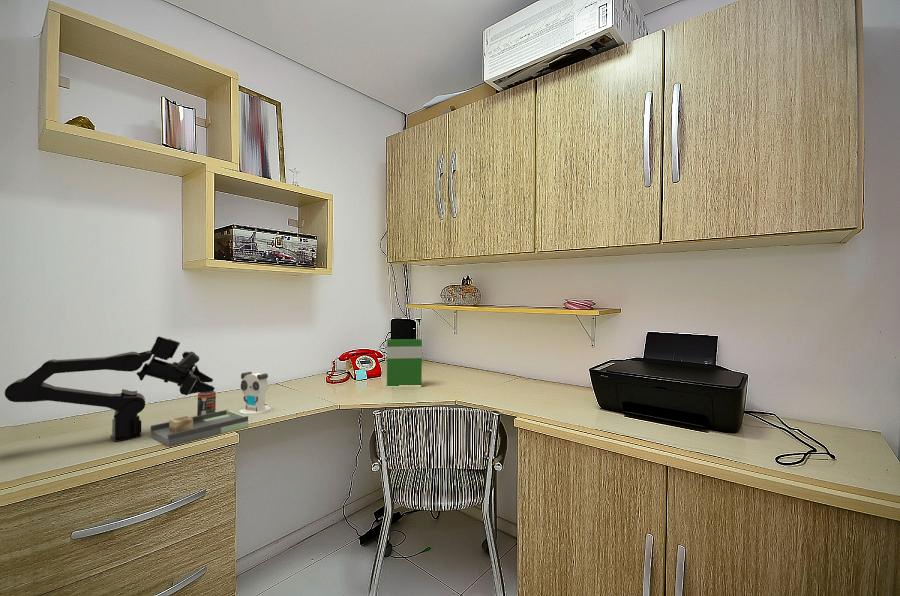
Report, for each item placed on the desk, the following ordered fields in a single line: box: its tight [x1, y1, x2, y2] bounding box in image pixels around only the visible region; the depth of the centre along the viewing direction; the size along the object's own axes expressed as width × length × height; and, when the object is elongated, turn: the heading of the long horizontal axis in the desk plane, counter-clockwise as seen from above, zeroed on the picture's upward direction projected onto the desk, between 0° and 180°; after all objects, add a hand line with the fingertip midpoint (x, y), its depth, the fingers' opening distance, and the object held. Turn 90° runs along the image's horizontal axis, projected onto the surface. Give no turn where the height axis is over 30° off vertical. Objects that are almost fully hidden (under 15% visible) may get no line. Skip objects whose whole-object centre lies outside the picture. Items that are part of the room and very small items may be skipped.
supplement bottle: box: [196, 389, 217, 416], centre depth 152 cm, size 6×6×11 cm
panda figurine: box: [238, 371, 271, 415], centre depth 160 cm, size 12×11×15 cm
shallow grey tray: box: [150, 409, 249, 448], centre depth 134 cm, size 24×15×4 cm, turn 144°
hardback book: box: [386, 338, 423, 387], centre depth 206 cm, size 18×7×24 cm, turn 98°
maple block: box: [168, 416, 193, 433], centre depth 129 cm, size 5×5×4 cm
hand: (213, 384), depth 143 cm, fingers open, 9 cm apart
